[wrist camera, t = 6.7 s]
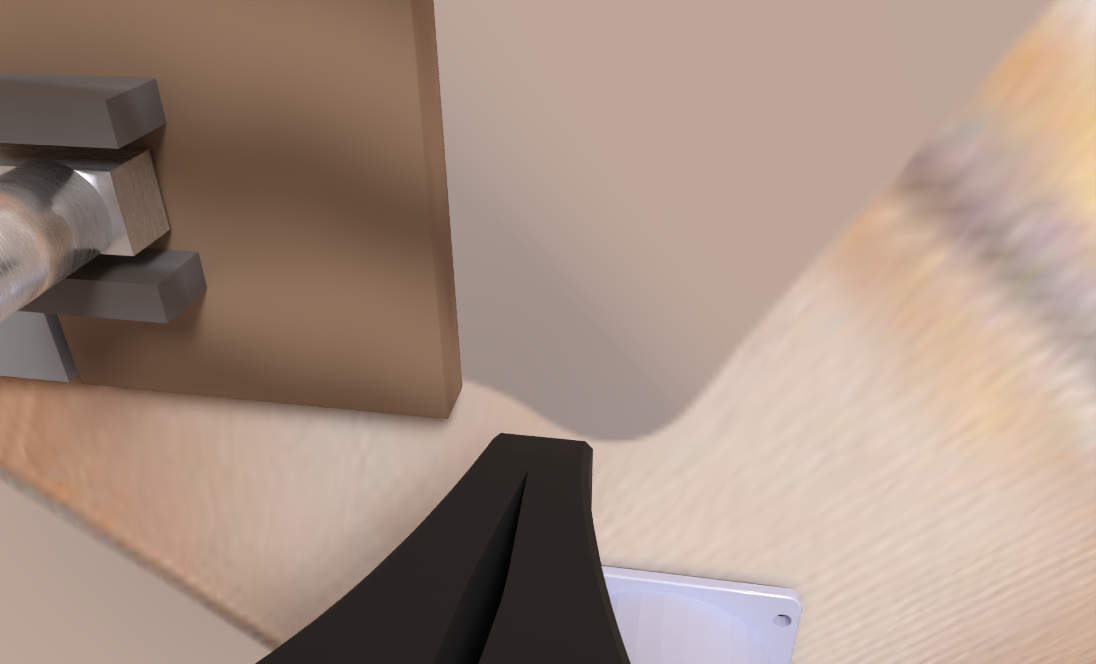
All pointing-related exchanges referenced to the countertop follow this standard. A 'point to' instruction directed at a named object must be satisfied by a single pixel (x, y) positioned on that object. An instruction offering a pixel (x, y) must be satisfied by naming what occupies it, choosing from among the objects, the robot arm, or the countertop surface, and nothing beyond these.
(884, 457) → the countertop surface
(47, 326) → the jamb keeper
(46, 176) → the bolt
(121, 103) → the door panel
